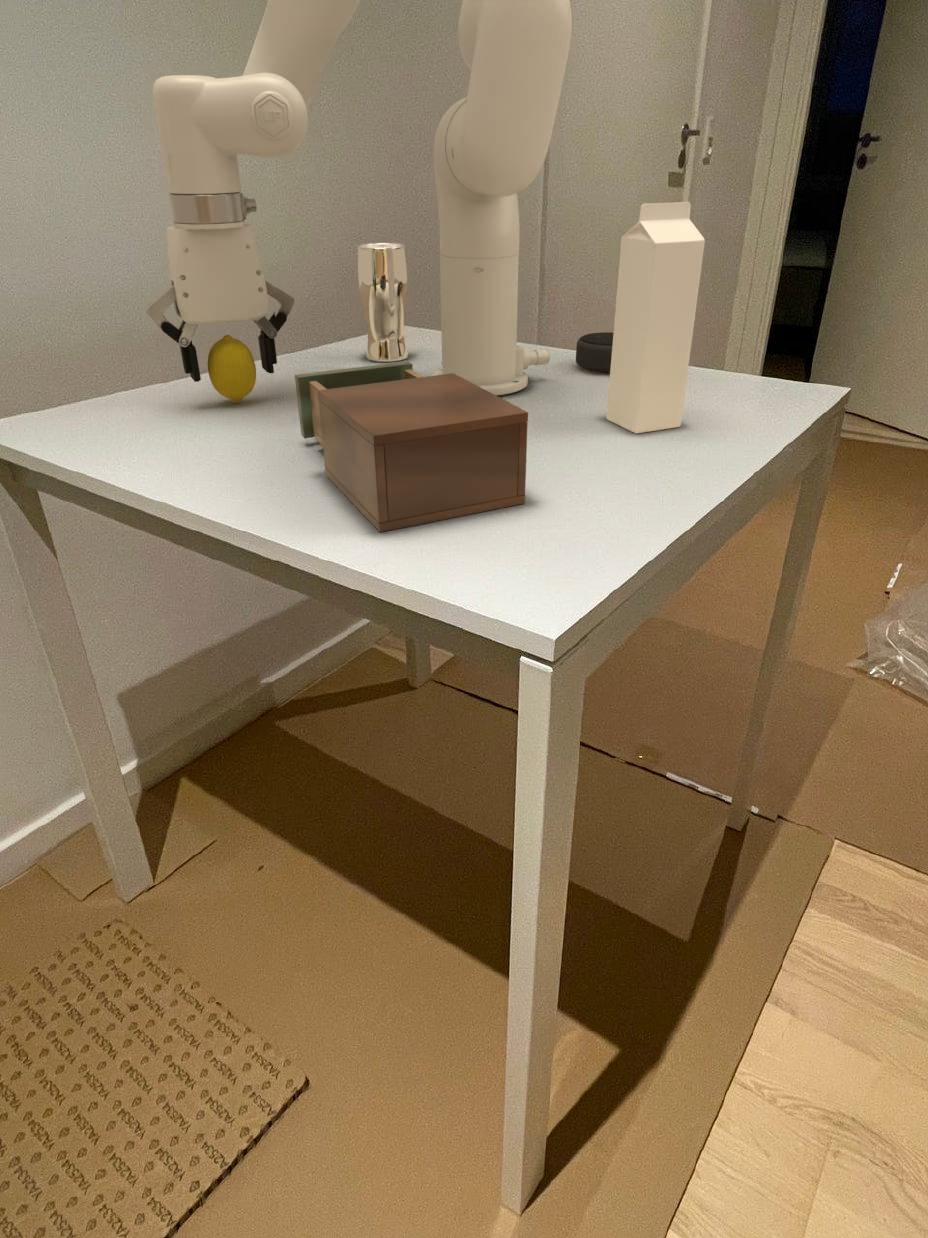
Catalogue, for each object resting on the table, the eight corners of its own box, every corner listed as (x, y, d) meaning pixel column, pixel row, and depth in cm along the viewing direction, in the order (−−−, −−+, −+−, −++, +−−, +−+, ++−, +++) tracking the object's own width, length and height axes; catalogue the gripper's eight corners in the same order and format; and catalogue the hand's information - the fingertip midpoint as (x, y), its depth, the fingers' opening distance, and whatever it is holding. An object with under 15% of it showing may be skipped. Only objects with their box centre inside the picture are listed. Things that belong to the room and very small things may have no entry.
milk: (680, 427, 90) (712, 203, 78) (634, 434, 87) (660, 205, 76) (648, 412, 94) (674, 199, 83) (604, 418, 92) (624, 201, 81)
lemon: (248, 410, 96) (238, 340, 92) (205, 408, 97) (193, 338, 93) (267, 397, 101) (258, 330, 97) (226, 395, 102) (215, 329, 98)
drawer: (283, 417, 91) (276, 359, 87) (387, 403, 95) (384, 347, 92) (342, 476, 75) (336, 408, 71) (463, 456, 79) (463, 391, 76)
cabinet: (325, 475, 77) (317, 390, 73) (454, 453, 82) (453, 372, 78) (379, 532, 66) (373, 435, 62) (525, 503, 71) (528, 412, 67)
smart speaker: (618, 378, 107) (620, 347, 105) (562, 368, 112) (564, 338, 110) (651, 366, 113) (654, 336, 111) (597, 357, 118) (599, 328, 116)
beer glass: (364, 352, 122) (356, 242, 114) (410, 351, 122) (406, 242, 115) (363, 363, 116) (355, 248, 108) (411, 362, 116) (407, 247, 109)
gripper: (278, 206, 94) (295, 360, 103) (120, 212, 88) (152, 376, 97) (296, 211, 89) (312, 373, 97) (128, 217, 82) (161, 391, 91)
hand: (232, 374), depth 97 cm, fingers open, 8 cm apart
